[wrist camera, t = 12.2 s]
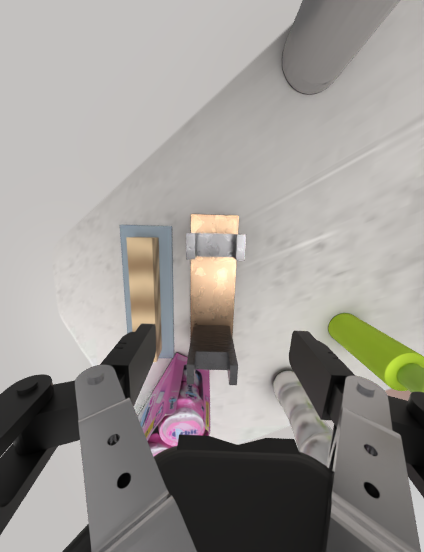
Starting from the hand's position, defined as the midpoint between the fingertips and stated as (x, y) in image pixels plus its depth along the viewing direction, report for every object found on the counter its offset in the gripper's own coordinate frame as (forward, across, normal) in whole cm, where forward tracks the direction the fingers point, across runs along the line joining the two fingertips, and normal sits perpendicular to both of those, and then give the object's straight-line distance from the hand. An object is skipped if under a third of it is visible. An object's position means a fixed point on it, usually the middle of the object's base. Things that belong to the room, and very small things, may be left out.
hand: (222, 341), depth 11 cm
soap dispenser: (+26, -26, +12) cm, 38 cm away
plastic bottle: (+25, -16, +24) cm, 39 cm away
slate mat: (+25, +12, +7) cm, 29 cm away
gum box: (+25, +9, +30) cm, 40 cm away
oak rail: (+25, +12, +7) cm, 28 cm away
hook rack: (+25, 0, +5) cm, 26 cm away
